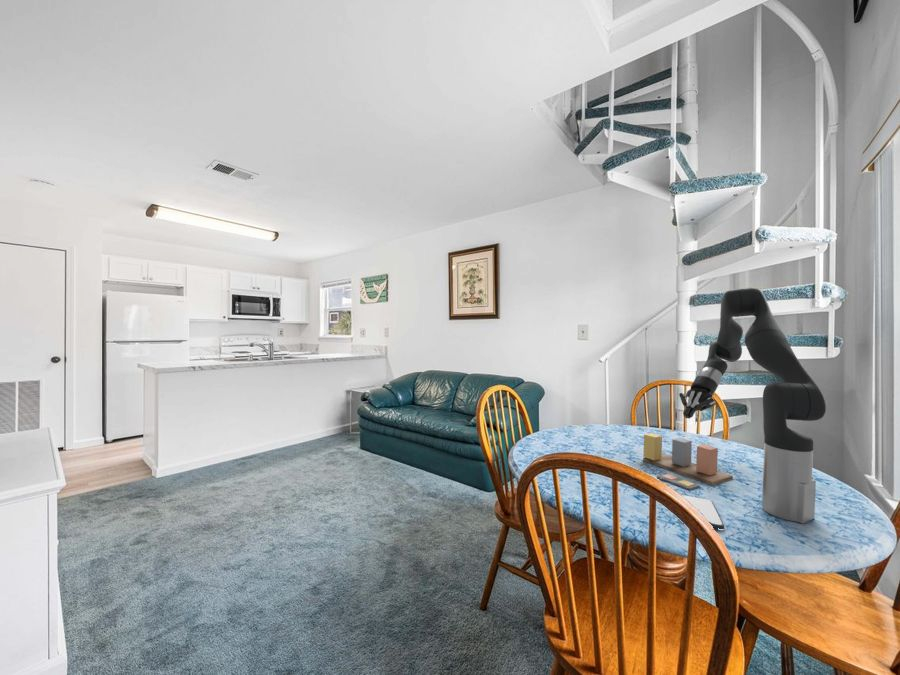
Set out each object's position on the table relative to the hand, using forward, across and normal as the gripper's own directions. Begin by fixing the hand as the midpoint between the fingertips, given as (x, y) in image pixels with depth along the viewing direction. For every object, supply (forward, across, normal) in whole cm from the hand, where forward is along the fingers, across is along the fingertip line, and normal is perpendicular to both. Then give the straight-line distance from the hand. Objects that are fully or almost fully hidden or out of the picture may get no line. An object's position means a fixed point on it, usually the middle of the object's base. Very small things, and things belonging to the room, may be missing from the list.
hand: (686, 416), depth 139 cm
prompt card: (+29, +14, -9) cm, 33 cm away
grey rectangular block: (+19, +7, 0) cm, 20 cm away
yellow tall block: (+21, -1, -3) cm, 22 cm away
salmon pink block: (+19, +15, 0) cm, 24 cm away
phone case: (+39, +27, -18) cm, 51 cm away
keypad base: (+20, +8, 0) cm, 22 cm away
